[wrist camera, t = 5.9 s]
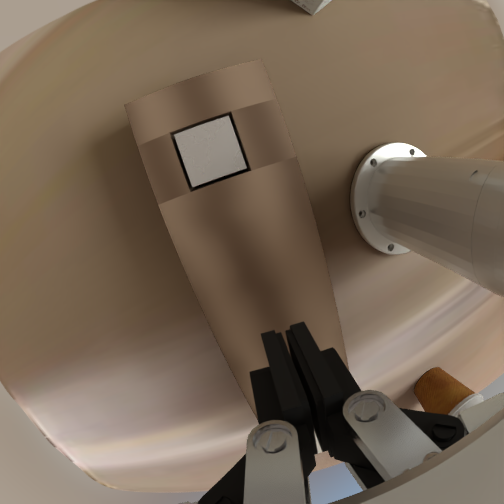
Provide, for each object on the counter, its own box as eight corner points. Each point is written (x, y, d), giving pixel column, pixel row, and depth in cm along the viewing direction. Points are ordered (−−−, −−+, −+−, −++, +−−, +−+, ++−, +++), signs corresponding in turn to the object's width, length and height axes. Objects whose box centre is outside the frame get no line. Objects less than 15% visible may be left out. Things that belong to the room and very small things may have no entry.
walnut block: (251, 80, 24) (261, 58, 19) (340, 391, 36) (356, 419, 31) (142, 117, 24) (124, 104, 18) (267, 418, 36) (275, 450, 30)
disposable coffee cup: (398, 406, 40) (431, 452, 29) (420, 362, 38) (463, 407, 26) (434, 397, 42) (467, 435, 30) (455, 356, 39) (496, 393, 28)
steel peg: (225, 126, 25) (228, 115, 20) (240, 168, 26) (246, 168, 21) (182, 141, 25) (174, 134, 19) (196, 183, 26) (192, 187, 21)
